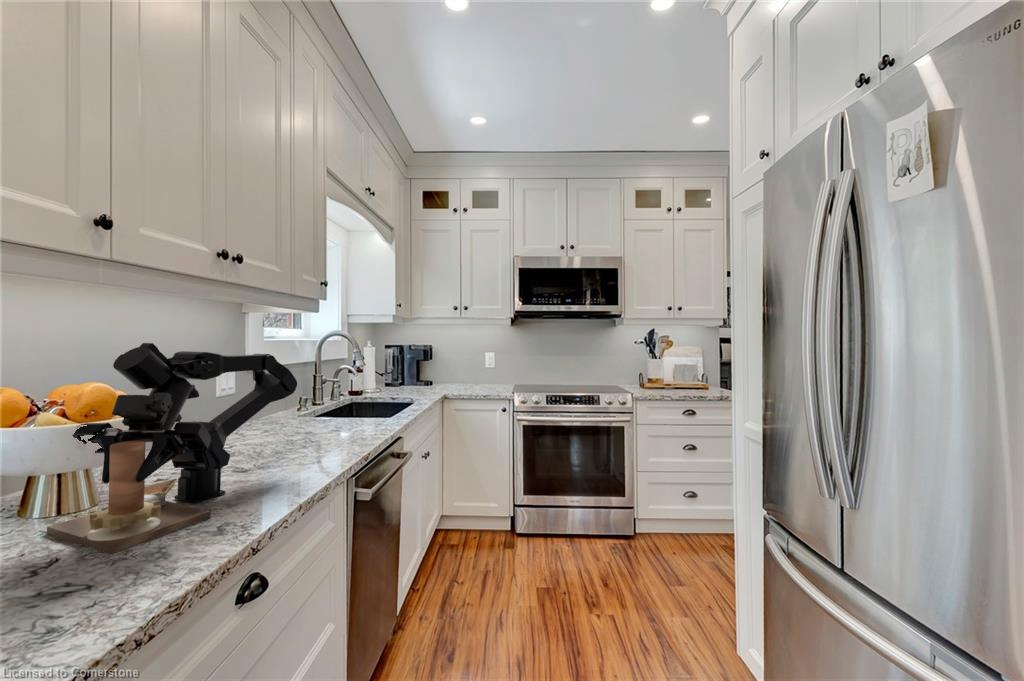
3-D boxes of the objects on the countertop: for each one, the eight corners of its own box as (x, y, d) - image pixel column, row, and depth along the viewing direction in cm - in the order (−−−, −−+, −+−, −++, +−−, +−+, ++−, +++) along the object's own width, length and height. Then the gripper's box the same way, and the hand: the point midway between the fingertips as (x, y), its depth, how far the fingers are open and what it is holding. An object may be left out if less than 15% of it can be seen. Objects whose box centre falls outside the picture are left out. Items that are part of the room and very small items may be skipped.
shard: (176, 484, 98) (176, 476, 98) (198, 489, 95) (198, 481, 95) (118, 500, 88) (118, 491, 88) (140, 506, 85) (141, 496, 85)
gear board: (150, 503, 85) (150, 485, 85) (210, 517, 79) (210, 498, 79) (46, 533, 71) (47, 512, 71) (110, 554, 65) (110, 530, 65)
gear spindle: (140, 505, 76) (142, 435, 77) (172, 513, 73) (174, 440, 73) (76, 524, 68) (78, 446, 68) (109, 534, 65) (111, 452, 65)
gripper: (82, 376, 73) (20, 457, 62) (205, 376, 77) (166, 454, 66) (114, 414, 81) (64, 493, 70) (224, 413, 84) (192, 488, 73)
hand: (121, 481), depth 69 cm, fingers closed on gear spindle, 4 cm apart
